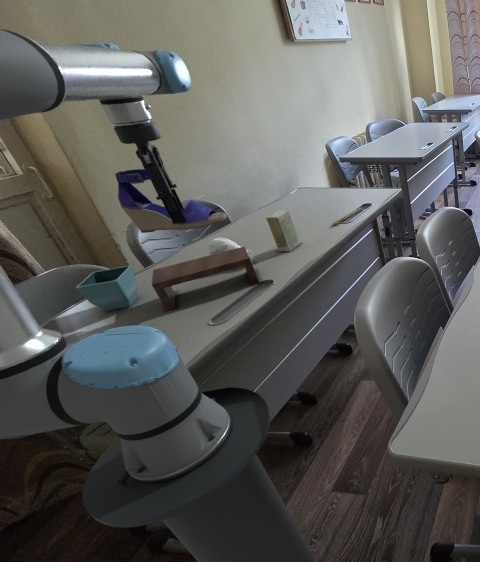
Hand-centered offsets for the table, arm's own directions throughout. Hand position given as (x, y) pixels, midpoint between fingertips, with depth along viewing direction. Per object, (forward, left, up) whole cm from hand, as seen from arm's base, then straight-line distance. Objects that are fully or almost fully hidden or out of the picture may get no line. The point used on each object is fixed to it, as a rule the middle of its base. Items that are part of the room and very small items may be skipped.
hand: (179, 218), depth 102 cm
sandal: (0, +1, -2) cm, 2 cm away
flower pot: (-21, +7, -22) cm, 31 cm away
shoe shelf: (0, 0, -21) cm, 21 cm away
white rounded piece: (+8, +13, -18) cm, 23 cm away
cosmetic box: (+23, +15, -22) cm, 35 cm away
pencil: (+47, +29, -21) cm, 59 cm away
